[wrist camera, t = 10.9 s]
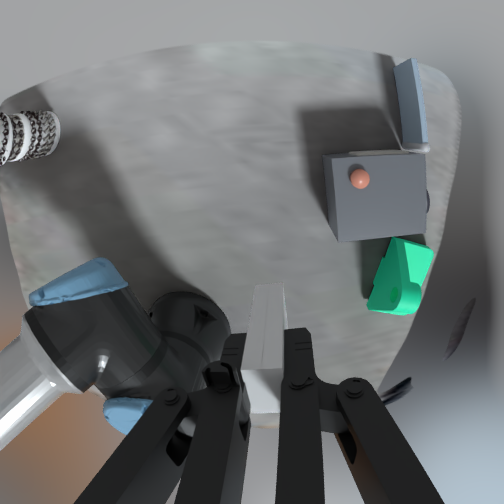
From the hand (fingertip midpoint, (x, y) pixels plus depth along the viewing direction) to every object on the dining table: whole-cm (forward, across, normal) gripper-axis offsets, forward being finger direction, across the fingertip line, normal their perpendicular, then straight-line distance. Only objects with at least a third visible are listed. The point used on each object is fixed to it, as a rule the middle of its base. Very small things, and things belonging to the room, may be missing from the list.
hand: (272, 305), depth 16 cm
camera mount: (+27, +18, -13) cm, 35 cm away
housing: (+26, +13, +1) cm, 29 cm away
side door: (+26, +20, +12) cm, 35 cm away
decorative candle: (+27, -38, +20) cm, 51 cm away
